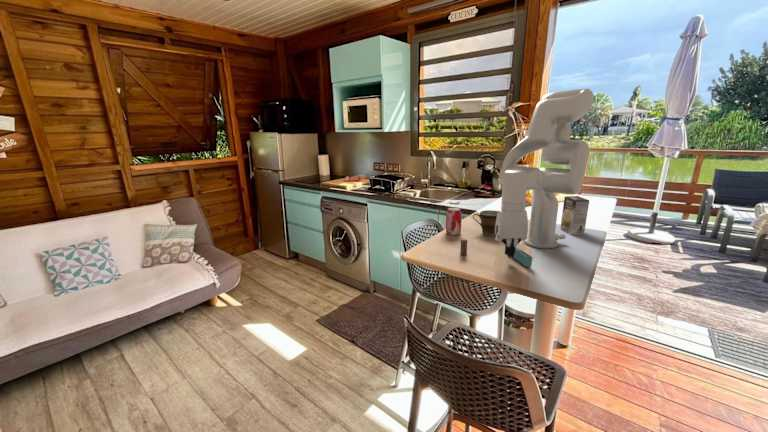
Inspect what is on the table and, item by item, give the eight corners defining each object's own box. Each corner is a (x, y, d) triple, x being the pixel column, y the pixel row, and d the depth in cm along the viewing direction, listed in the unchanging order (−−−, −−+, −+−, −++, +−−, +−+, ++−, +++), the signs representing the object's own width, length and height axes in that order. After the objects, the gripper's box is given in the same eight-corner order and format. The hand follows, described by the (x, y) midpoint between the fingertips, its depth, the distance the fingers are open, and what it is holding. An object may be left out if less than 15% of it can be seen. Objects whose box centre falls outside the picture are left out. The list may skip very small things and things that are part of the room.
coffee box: (559, 229, 145) (563, 196, 141) (573, 228, 145) (577, 195, 141) (570, 235, 136) (575, 200, 132) (585, 234, 136) (590, 199, 132)
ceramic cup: (499, 230, 145) (501, 210, 143) (502, 237, 136) (504, 216, 133) (471, 229, 148) (472, 209, 146) (472, 236, 139) (473, 215, 136)
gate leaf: (506, 252, 118) (507, 242, 117) (510, 251, 118) (511, 242, 117) (526, 266, 105) (527, 256, 104) (531, 266, 105) (532, 255, 104)
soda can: (461, 236, 139) (462, 210, 136) (445, 235, 141) (446, 210, 138) (460, 231, 146) (461, 207, 143) (445, 230, 148) (446, 206, 144)
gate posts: (512, 250, 121) (513, 235, 120) (515, 252, 119) (517, 237, 117) (459, 253, 119) (460, 239, 118) (461, 255, 117) (462, 241, 115)
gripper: (529, 202, 107) (525, 250, 113) (487, 205, 107) (485, 252, 113) (540, 208, 100) (535, 258, 105) (495, 210, 100) (492, 261, 105)
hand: (509, 255), depth 109 cm, fingers closed
